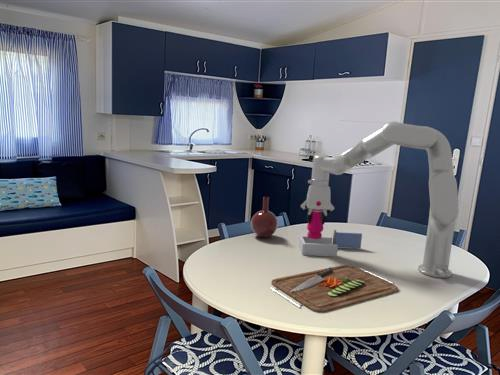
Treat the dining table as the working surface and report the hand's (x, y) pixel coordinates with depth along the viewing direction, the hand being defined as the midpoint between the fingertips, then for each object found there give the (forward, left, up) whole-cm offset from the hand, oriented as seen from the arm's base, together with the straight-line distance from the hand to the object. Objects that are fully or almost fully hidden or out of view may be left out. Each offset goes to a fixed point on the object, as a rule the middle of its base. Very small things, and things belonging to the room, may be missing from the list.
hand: (316, 222), depth 186 cm
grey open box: (0, -2, -13) cm, 13 cm away
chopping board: (-39, -1, -14) cm, 41 cm away
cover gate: (+6, -16, -13) cm, 22 cm away
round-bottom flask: (+18, +22, -13) cm, 31 cm away
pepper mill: (0, 0, -7) cm, 7 cm away
